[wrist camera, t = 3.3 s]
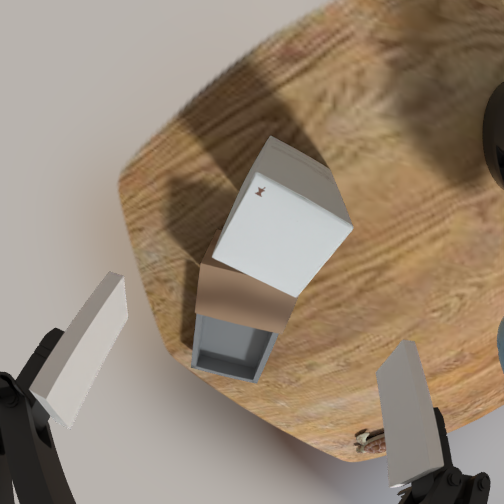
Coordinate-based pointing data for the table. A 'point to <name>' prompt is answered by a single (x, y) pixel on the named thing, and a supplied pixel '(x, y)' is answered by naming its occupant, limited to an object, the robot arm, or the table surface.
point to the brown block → (240, 296)
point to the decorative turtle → (371, 443)
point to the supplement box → (284, 219)
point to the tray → (230, 348)
